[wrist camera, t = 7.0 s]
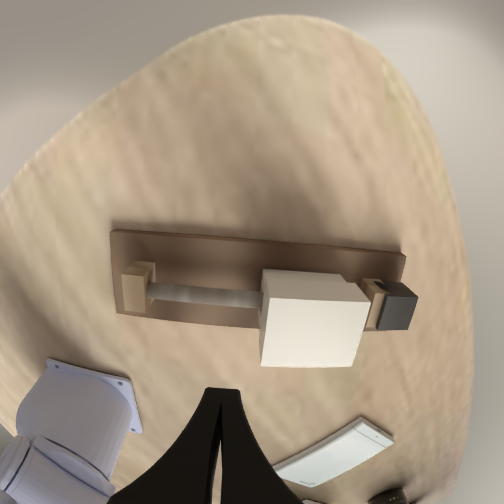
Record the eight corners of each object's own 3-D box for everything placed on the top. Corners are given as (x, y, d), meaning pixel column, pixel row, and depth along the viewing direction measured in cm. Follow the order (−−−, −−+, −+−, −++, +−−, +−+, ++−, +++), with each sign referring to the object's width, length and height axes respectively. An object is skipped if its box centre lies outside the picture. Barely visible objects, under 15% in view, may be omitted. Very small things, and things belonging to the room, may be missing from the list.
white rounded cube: (257, 318, 19) (260, 366, 14) (263, 261, 18) (269, 297, 13) (329, 321, 19) (351, 366, 14) (341, 266, 18) (371, 302, 13)
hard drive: (312, 488, 27) (395, 443, 25) (270, 474, 26) (363, 423, 23) (311, 479, 29) (391, 434, 26) (269, 463, 27) (359, 412, 25)
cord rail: (120, 308, 20) (101, 333, 16) (114, 228, 18) (89, 243, 15) (381, 325, 21) (400, 351, 17) (401, 252, 19) (427, 270, 16)
